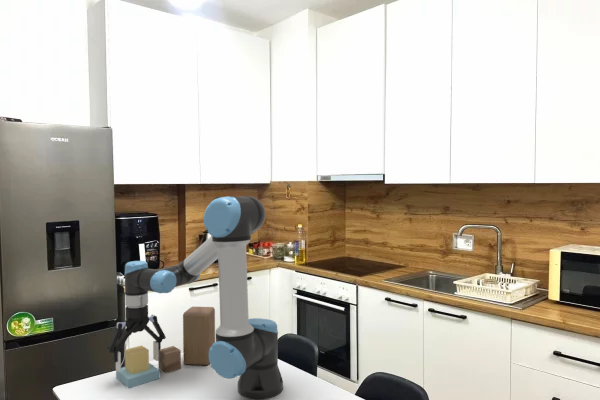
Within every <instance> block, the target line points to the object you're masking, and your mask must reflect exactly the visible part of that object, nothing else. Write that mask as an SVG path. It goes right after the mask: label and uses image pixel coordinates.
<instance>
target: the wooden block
mask: <svg viewBox="0 0 600 400" xmlns="http://www.w3.org/2000/svg"><path fill="white" fill-rule="evenodd" d="M215 315H216V310H215V307H213V306H191V307H189V308H188V309H187V310H185V312H183V315H182V336H183V338H182V342H183V343H182V345H183V348H182V349H183V350H182V351H183V359H182V361H183V364H184V365H196V366H197V365H199V366H207V365H209V364H210V361H209V349H210V347H211V346H212V345H213V343H215V342H216V316H215Z"/></svg>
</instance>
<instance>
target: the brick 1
mask: <svg viewBox="0 0 600 400" xmlns="http://www.w3.org/2000/svg"><path fill="white" fill-rule="evenodd" d="M124 351H125V352H124V360H125V361H124V362H125V366H124V367H125V369H126V370H127V371H128V372H130V373H131V374H135V373H139V372H142V371H145V370H149V363H150V361H149V360H150V356H149V355H150V354H149V353H150V352H149V351H150V350H149V349H148V348H146V347H145V346H144V345H137V346H134V347H130V348H126V349H124Z"/></svg>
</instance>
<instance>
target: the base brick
mask: <svg viewBox="0 0 600 400" xmlns="http://www.w3.org/2000/svg"><path fill="white" fill-rule="evenodd" d="M115 370H116V369H115ZM115 375H116V380H118V381H119V382H121V383H122V384H123V385H124V386H125V387H126V388H127V389H130V388H133V387H136V386H137V387H138V386H139V385H143V384H146V383H149V382H152V381H155V380H159V379H160V369H159V368H158V367H156V366H155V365H153V364H152V363H150V362H149V370H145V371H142V372H139V373H135V374H131V373H130V372H128V371H127V370H126V369H125V366H122V367H121V371H120V372H118V371H117V370H116V371H115Z"/></svg>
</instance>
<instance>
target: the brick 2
mask: <svg viewBox="0 0 600 400" xmlns="http://www.w3.org/2000/svg"><path fill="white" fill-rule="evenodd" d="M181 354H182V353H181V349H180V348H178V347H176V346H174V345H172V346H167V347H164V348H161V349H160V350H159V351H158V355H159V361H157V362H158V364H157V365H158V367H157V369H159V371H161V372H163V373H164V374H169V373H171V372H172V373H173V372H175V371H177V370H181V369H182V364H181V363H182V361H181V360H182V357H181V356H182V355H181Z"/></svg>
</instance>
